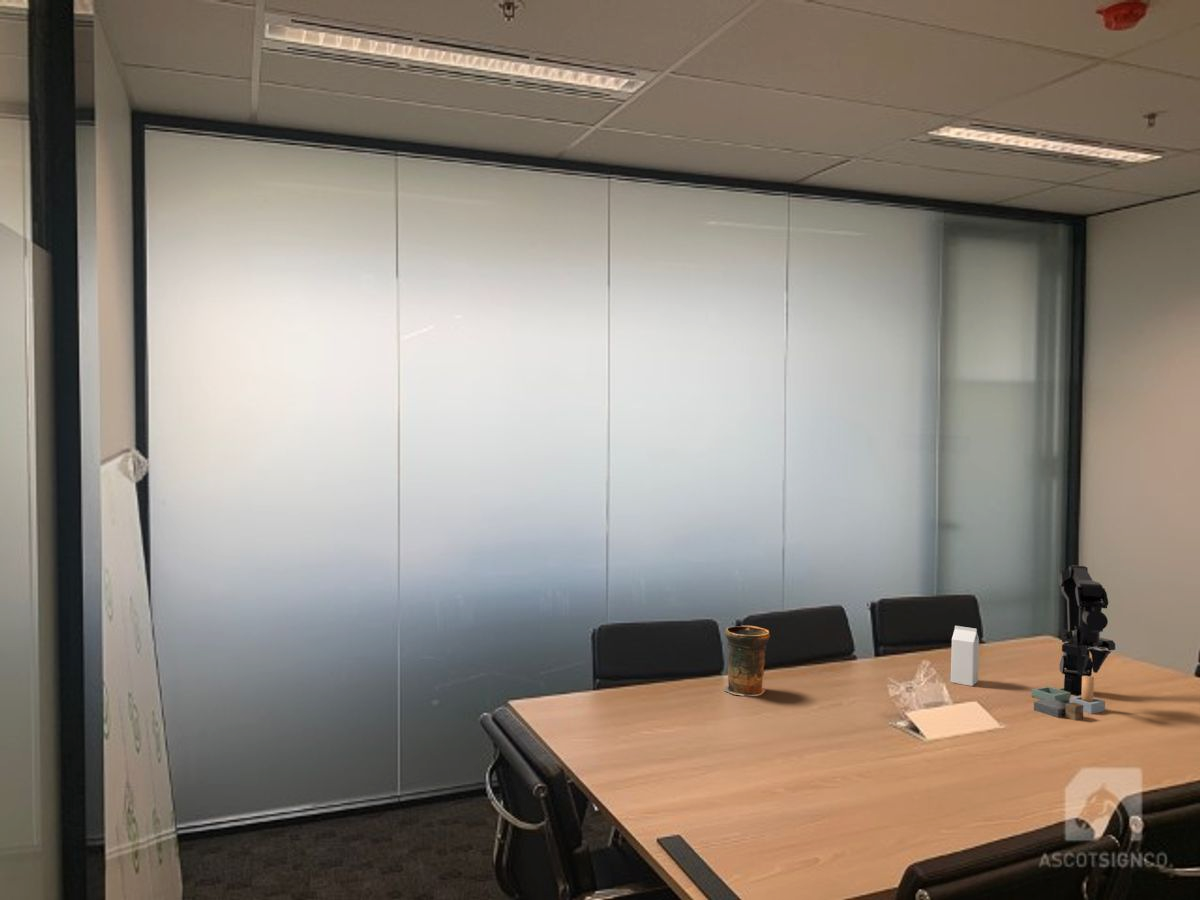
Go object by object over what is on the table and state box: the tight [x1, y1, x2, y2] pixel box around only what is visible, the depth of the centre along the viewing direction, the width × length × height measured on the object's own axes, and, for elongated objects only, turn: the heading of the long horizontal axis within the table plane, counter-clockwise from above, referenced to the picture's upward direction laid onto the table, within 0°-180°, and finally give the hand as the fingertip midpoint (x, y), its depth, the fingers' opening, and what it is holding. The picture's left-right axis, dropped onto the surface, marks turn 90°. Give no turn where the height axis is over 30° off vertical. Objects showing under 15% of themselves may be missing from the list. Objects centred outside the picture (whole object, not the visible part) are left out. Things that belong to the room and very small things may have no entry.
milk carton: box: [950, 625, 980, 687], centre depth 297 cm, size 7×7×19 cm
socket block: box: [1068, 695, 1106, 715], centre depth 270 cm, size 7×7×3 cm
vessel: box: [723, 625, 771, 697], centre depth 282 cm, size 14×14×20 cm
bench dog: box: [1065, 702, 1084, 721], centre depth 261 cm, size 4×3×4 cm
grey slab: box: [1033, 699, 1068, 719], centre depth 266 cm, size 8×8×3 cm
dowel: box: [1080, 675, 1095, 703], centre depth 270 cm, size 3×3×10 cm
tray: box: [1031, 685, 1072, 703], centre depth 280 cm, size 8×8×2 cm
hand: (1087, 673), depth 270 cm, fingers open, 7 cm apart
